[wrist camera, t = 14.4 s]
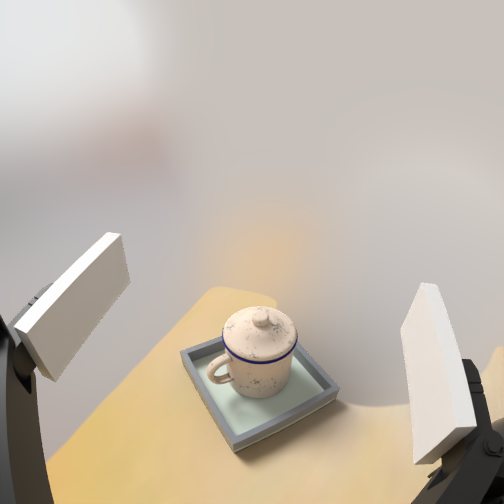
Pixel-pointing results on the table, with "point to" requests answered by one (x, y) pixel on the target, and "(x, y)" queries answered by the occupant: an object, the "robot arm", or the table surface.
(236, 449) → the tray
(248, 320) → the teacup with lid
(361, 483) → the table surface
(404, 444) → the table surface
